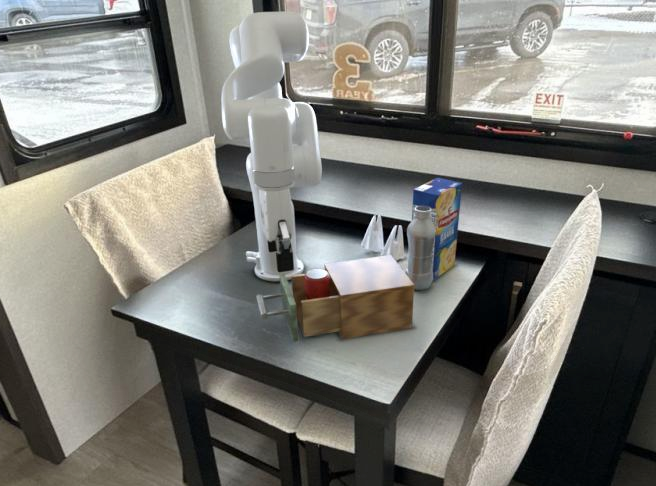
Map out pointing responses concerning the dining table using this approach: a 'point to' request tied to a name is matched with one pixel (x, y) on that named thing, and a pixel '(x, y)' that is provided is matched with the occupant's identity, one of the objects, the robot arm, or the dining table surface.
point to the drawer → (305, 308)
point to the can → (317, 284)
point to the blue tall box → (441, 219)
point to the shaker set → (375, 240)
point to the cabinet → (372, 295)
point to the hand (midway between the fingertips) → (280, 260)
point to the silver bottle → (420, 248)
